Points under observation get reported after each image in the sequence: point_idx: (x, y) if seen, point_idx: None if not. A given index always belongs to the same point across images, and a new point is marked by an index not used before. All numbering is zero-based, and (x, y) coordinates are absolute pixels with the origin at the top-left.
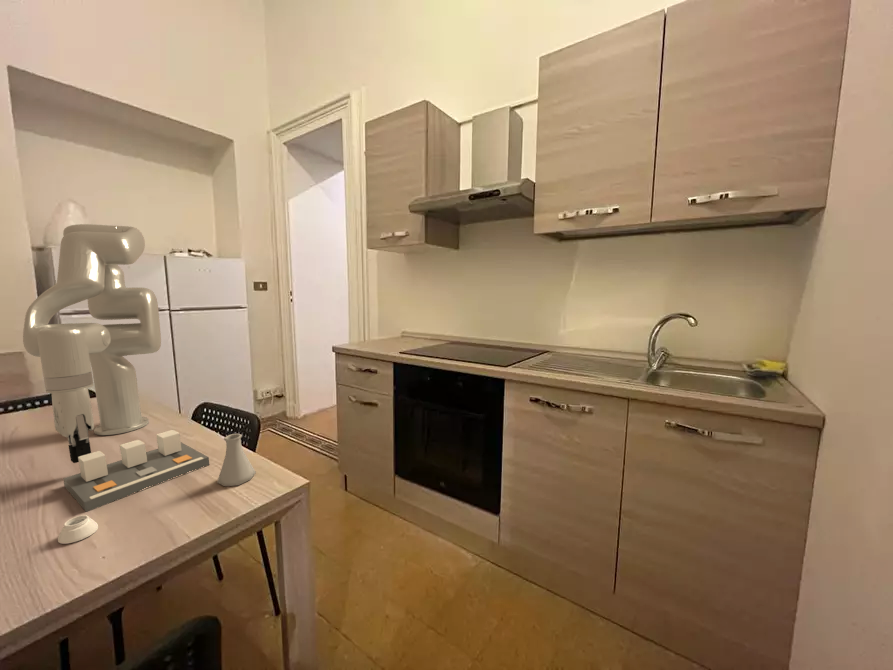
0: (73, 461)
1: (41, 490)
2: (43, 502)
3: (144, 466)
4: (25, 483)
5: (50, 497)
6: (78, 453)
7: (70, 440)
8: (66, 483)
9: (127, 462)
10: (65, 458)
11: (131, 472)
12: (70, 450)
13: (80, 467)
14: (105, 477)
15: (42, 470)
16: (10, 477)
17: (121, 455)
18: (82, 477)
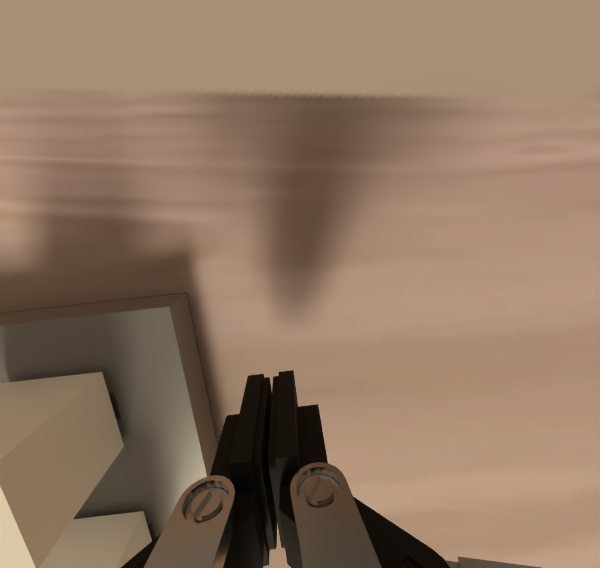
0: (250, 381)
1: (227, 216)
2: (64, 215)
3: None
4: (391, 165)
5: (103, 241)
6: (219, 444)
7: (296, 513)
8: (110, 310)
9: None
10: (582, 319)
11: None
12: (249, 431)
13: (34, 411)
14: None
15: (508, 233)
16: (554, 111)
17: (114, 561)
18: (70, 376)
